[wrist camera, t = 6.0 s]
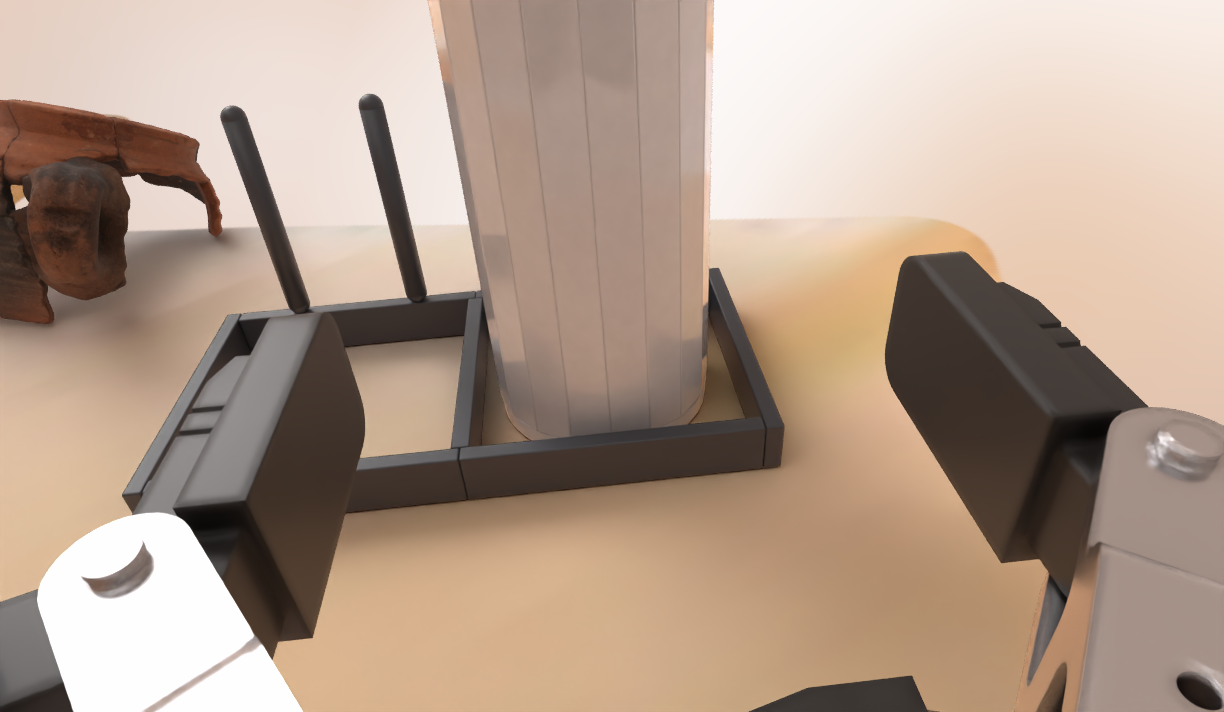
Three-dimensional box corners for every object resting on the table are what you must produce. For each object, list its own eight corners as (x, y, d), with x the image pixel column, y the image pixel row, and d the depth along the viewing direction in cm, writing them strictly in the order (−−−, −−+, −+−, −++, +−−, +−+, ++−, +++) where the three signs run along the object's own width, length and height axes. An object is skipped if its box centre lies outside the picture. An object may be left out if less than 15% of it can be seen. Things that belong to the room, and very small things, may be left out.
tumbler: (500, 469, 22) (397, -44, 14) (505, 340, 27) (433, -85, 19) (724, 445, 22) (744, -70, 14) (686, 322, 27) (686, -104, 19)
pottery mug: (-45, 285, 34) (-34, 93, 32) (198, 306, 39) (214, 143, 38) (-88, 341, 24) (-75, 71, 23) (241, 358, 30) (264, 142, 28)
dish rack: (145, 534, 20) (-34, 249, 15) (243, 347, 27) (143, 109, 22) (781, 467, 21) (810, 172, 16) (717, 301, 28) (724, 60, 23)
